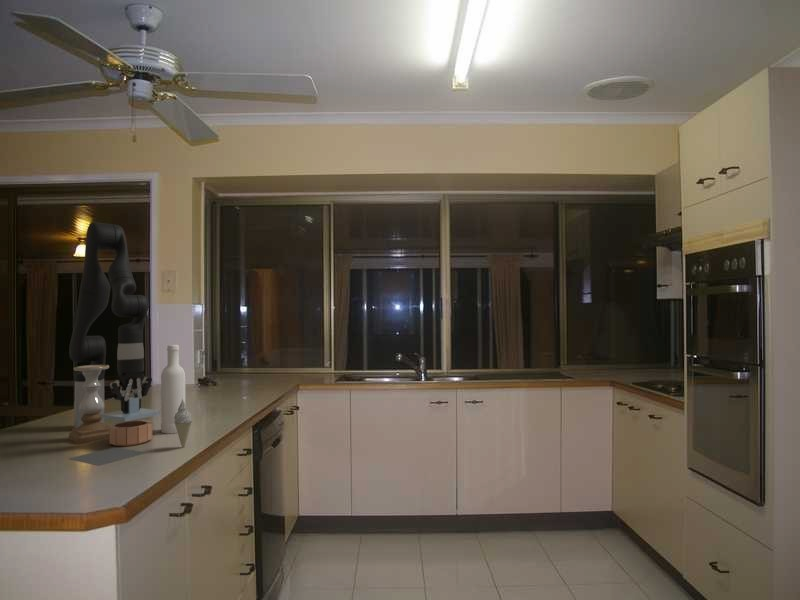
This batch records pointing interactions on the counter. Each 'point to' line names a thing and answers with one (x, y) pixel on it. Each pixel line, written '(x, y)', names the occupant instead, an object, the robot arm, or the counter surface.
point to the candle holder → (90, 408)
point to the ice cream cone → (182, 423)
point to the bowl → (130, 432)
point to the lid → (131, 412)
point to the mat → (107, 456)
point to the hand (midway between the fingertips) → (131, 411)
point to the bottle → (171, 390)
